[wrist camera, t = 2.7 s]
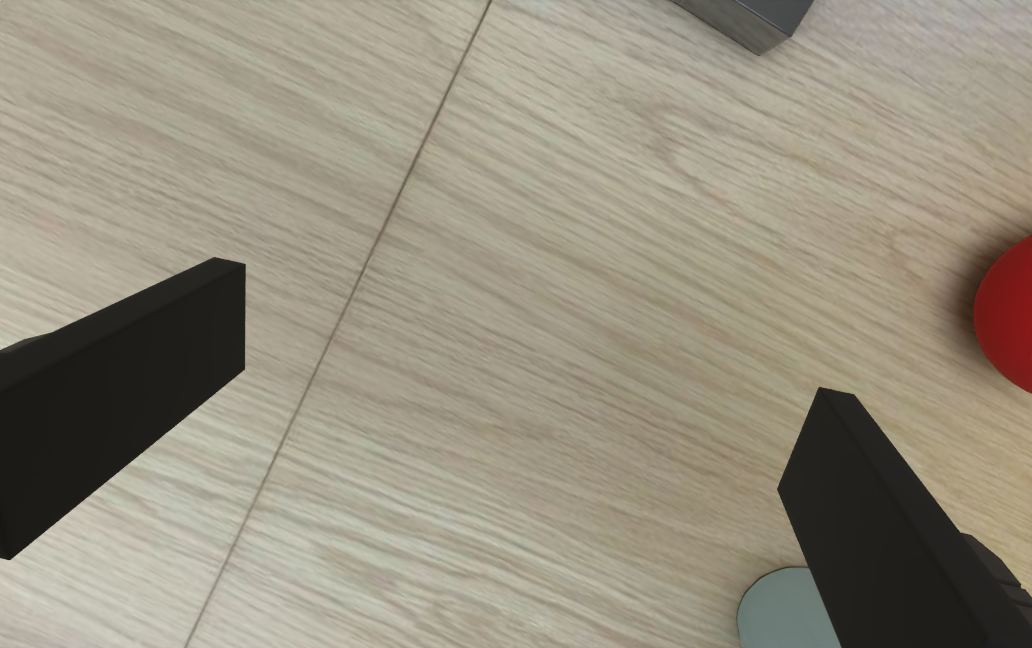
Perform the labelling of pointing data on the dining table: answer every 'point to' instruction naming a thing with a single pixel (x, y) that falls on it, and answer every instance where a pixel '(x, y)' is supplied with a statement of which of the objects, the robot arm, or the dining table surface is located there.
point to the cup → (785, 613)
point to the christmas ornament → (1008, 314)
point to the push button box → (751, 19)
